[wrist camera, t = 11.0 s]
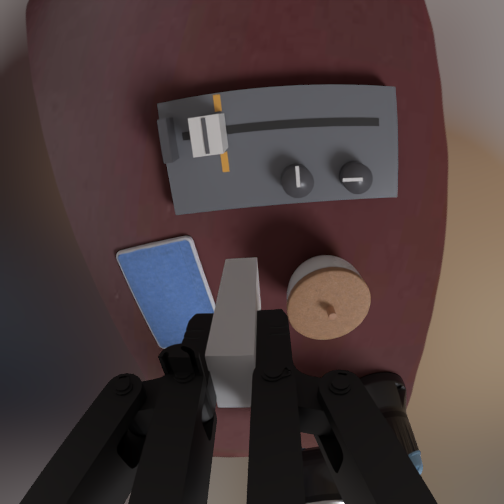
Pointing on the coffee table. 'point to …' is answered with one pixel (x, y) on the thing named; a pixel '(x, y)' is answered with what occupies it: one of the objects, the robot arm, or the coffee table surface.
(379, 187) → the console
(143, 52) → the coffee table surface
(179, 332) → the tablet computer
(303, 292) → the lidded jar
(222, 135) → the fader tab
